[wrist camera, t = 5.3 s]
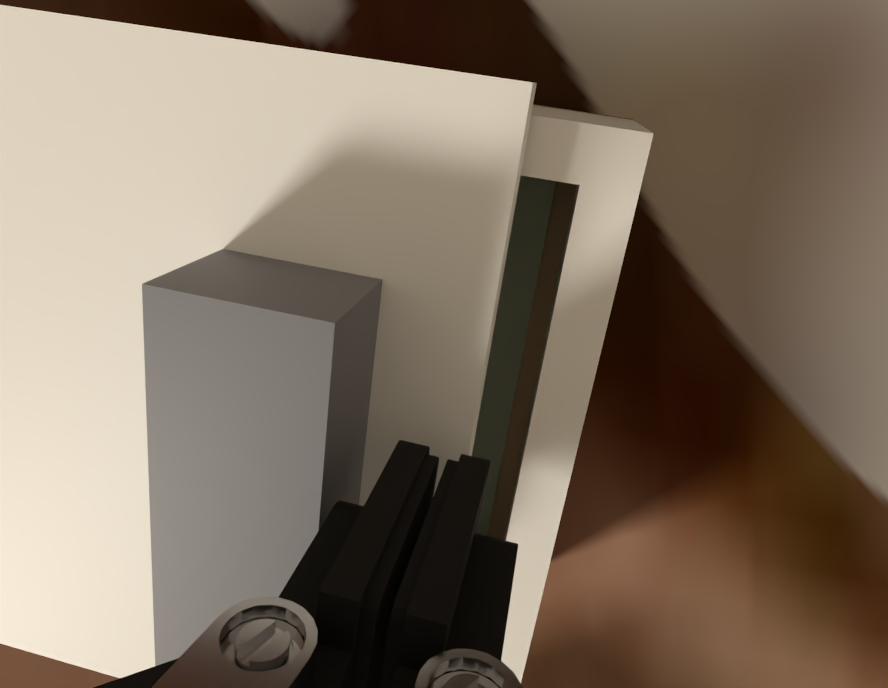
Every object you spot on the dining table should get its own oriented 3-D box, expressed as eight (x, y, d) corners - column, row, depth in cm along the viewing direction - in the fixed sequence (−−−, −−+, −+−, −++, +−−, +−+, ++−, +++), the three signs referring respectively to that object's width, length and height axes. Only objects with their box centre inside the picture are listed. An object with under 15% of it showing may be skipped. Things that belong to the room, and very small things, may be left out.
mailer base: (632, 119, 17) (654, 133, 11) (528, 572, 22) (507, 735, 16) (-77, 12, 19) (-344, -19, 14) (-17, 438, 24) (-193, 539, 19)
